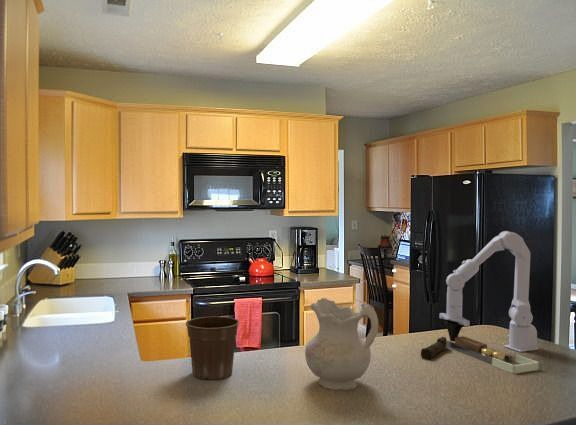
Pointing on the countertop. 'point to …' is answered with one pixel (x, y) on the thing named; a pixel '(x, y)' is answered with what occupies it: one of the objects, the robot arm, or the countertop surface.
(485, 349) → the chip
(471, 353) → the slot rails
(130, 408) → the countertop surface
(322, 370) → the ceramic pitcher
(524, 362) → the tray
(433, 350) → the brown wooden log
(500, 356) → the chip
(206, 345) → the plant pot
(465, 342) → the long wooden beam
